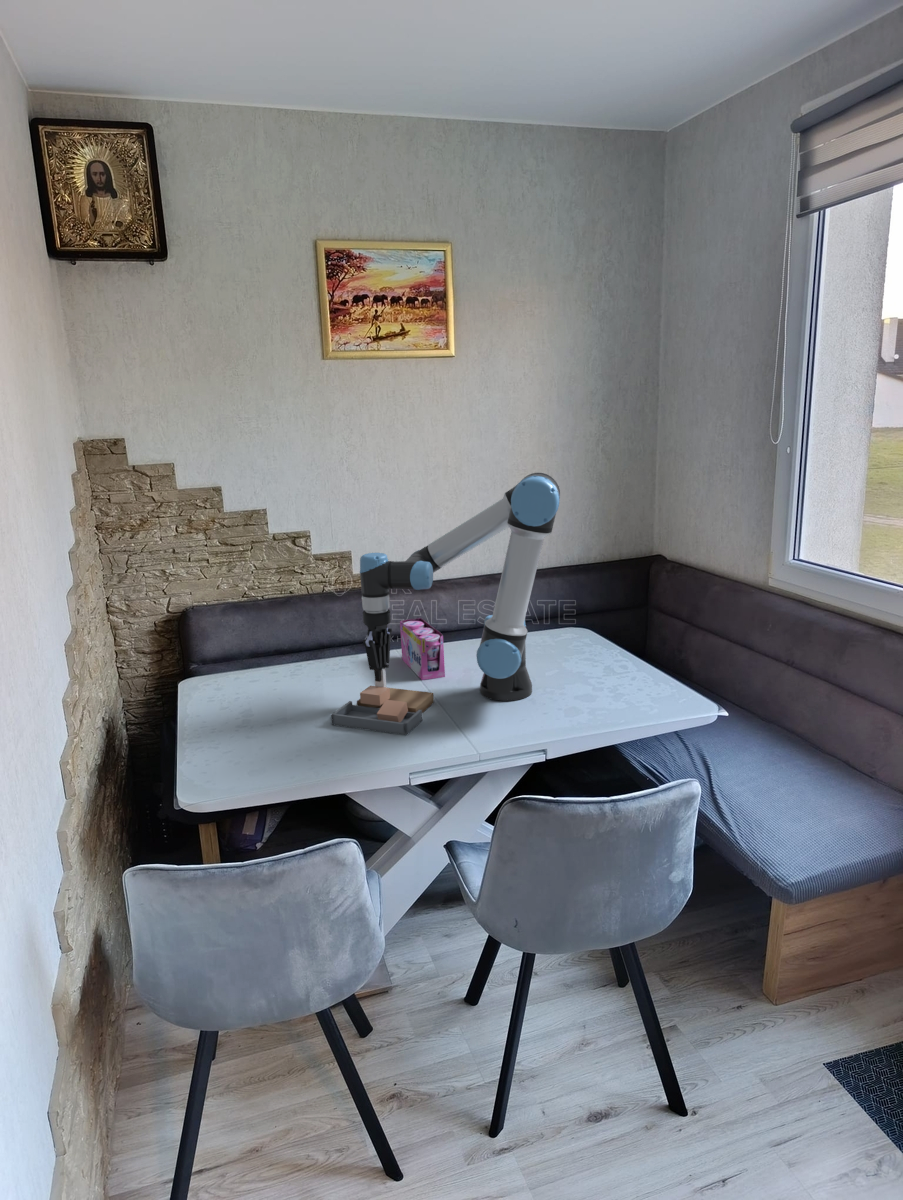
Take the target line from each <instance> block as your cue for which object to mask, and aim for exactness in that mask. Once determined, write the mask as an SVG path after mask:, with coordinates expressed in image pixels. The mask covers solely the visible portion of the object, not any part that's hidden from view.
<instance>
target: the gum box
mask: <svg viewBox="0 0 903 1200" xmlns="http://www.w3.org/2000/svg"><path fill="white" fill-rule="evenodd" d="M399 629H400V645H401V659H402V661H403V662H404V663H405V664H406V665H407V666H408V667H409V668H410V670H412V672H414V673H415V674H416V676H418V678H419V679H421V681H425V680H432V679H438V678H445V677H446V673H445V672H446V669H445V668H446V666H445V650H444V635H443V634H442V633H441V631H439V630H437V628H435V627H433V626H432V625H431V624H429V623H428V622H427V621H426V620H425V619H423V617H419V618H418V617H417V618H410V619H404V620H403V619H402V620H400V621H399Z"/></svg>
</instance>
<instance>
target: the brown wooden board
mask: <svg viewBox="0 0 903 1200" xmlns="http://www.w3.org/2000/svg"><path fill="white" fill-rule="evenodd" d="M389 688H390V698H389V699H388V700H393V701H402V702H406V703H407V708H408V712H414V713H416V712H417V711H418V710H422V714H423V713H424V712H425V711H427V710H428V709H429V708H430V707H431V706H432V705H433V704H434V703H435V701H434V700H435V699H434V692H429V691H419V690H413V689H403V688H396V687H395V688H394V687H389ZM383 704H384V703H383ZM383 704H382V705H383ZM356 705H358V706H366V707H374V708H381V707H382V705H380V706H379V705H371V704H363V703H361V700H360V698H359V699H358V700H357V701H356Z"/></svg>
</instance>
